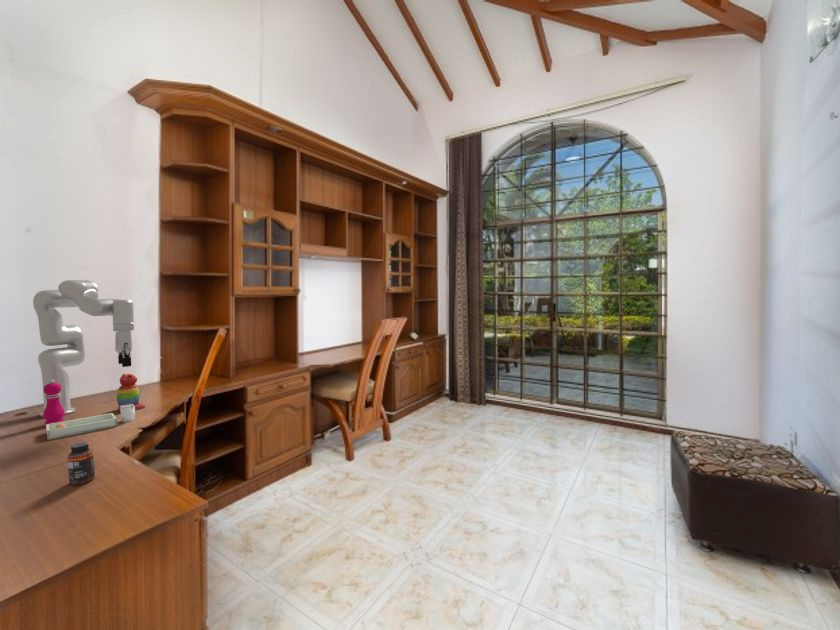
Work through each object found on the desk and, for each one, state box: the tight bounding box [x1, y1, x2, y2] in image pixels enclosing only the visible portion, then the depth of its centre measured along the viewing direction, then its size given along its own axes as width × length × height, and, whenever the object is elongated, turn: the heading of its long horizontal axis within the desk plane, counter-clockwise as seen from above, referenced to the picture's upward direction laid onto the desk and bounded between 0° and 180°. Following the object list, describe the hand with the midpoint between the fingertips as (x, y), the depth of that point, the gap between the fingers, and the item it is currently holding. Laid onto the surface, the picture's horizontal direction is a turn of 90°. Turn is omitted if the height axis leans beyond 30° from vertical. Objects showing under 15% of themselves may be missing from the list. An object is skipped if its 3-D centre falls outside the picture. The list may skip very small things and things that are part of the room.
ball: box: [56, 423, 66, 429], centre depth 164 cm, size 3×3×3 cm
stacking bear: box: [116, 373, 146, 412], centre depth 199 cm, size 11×10×18 cm
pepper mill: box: [42, 380, 66, 427], centre depth 176 cm, size 7×7×20 cm
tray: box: [45, 412, 118, 441], centre depth 168 cm, size 12×22×4 cm, turn 135°
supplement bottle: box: [67, 441, 96, 486], centre depth 120 cm, size 6×6×11 cm
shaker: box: [119, 404, 136, 423], centre depth 180 cm, size 5×5×7 cm
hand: (124, 365), depth 179 cm, fingers open, 9 cm apart
